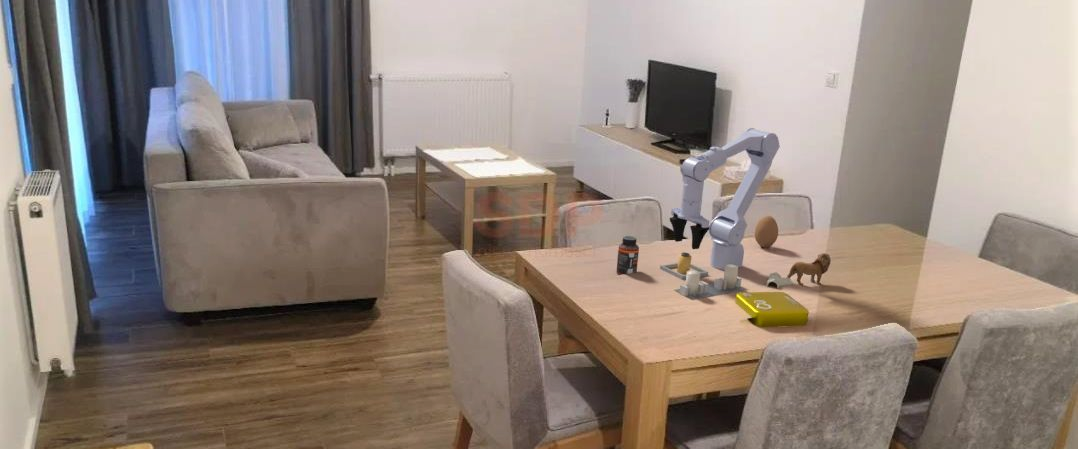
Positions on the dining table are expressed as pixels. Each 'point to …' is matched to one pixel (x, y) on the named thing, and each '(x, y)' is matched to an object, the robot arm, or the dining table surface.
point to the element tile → (772, 309)
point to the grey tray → (666, 269)
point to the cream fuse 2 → (731, 275)
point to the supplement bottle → (627, 256)
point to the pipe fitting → (779, 280)
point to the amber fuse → (684, 263)
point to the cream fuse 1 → (692, 282)
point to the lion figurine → (811, 268)
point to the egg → (766, 231)
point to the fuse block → (711, 289)
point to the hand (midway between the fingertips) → (686, 244)
